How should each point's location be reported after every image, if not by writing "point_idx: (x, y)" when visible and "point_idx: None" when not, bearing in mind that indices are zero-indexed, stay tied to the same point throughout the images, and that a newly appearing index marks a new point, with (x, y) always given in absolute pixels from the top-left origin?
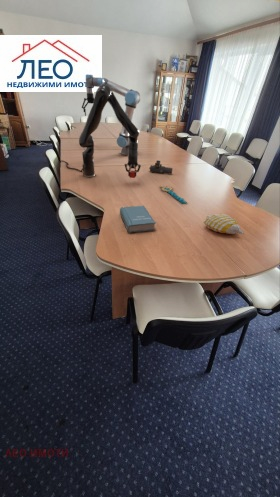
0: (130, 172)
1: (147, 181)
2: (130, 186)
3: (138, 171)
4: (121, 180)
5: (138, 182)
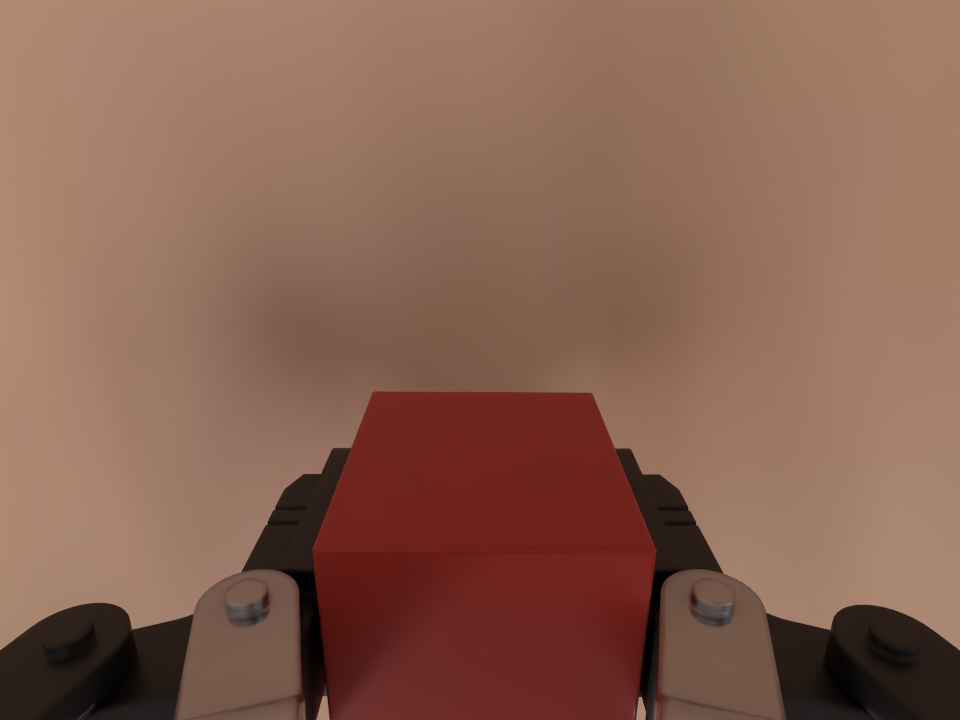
0: (617, 534)
1: (36, 578)
2: (539, 125)
3: (40, 632)
4: (765, 578)
5: (284, 486)
